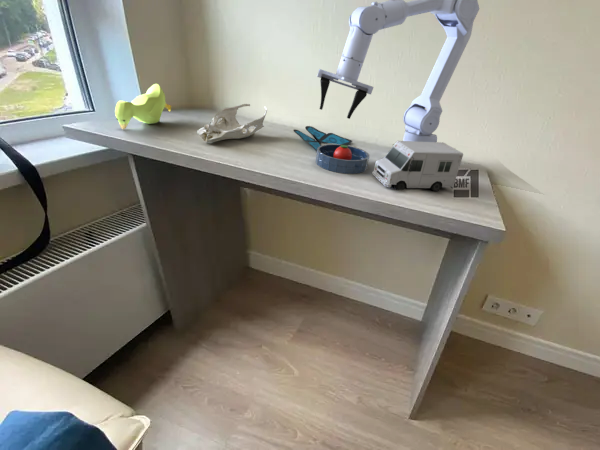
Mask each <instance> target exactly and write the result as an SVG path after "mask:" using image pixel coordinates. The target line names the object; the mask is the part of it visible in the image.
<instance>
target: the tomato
mask: <svg viewBox="0 0 600 450" xmlns="http://www.w3.org/2000/svg"><path fill="white" fill-rule="evenodd" d="M348 146H349V145H341V146H340V147H338V148H337V149H336V150H335V152H334V158H337V159H343V160H351V158H352V153H351V150H350V149H349V148H348Z"/></svg>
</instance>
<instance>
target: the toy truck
mask: <svg viewBox="0 0 600 450" xmlns="http://www.w3.org/2000/svg"><path fill="white" fill-rule="evenodd" d="M463 157H464V152H462V151H460V150H458V149H456V148H454V147H452V146H450V145H449V144H447V143H445V142H444V141H443V142H441V141H440V142H439V141H437V142H416V141H403V140H397V141H395V143H393V145H392V147H391V148H390V150H389V151H388V152H387V153H386V155H385V156H384V157H382V158H379V159H377V160H375V164H374V168H373V170H372V173H371V174H372V175H373V176H374V177H375V178H376V179H377V180H378V181H379V182H380V183H381V184H382V185H383V186H384V187H386V188H391V187H392V185H394V186H393V188H394V189H395V190H397V191H403V190H404V189H405V188H406V189H430V190H431V191H432V192H438V191H439V190H441V188H450V189H454V186H455V183H456V180H457V177H458V174H459V170H460V167H461V163H462V161H463Z"/></svg>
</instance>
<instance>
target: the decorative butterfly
mask: <svg viewBox="0 0 600 450" xmlns="http://www.w3.org/2000/svg"><path fill="white" fill-rule="evenodd" d="M305 130H306V131H307V132H308V133H309V134H310V135H311V136H312V137H311V136H309V135H308V134H306V133H305V132H303V131H300V130H298V129H295V128H294V129H293V133H294V134H296V135H297V136H298V137H299V138H301V140H302V141H304V142H307V144H308V145H310V146H311V147H312V148H313V149H314V150H315V151H316V152H317V148H318V147H319V146H322V145H323V144H325V145H327V144H340V145H347V146H350V145H351V144H352V143H353V140H352V139H349V138H346V137H342V136H341V135H338V134H335V133H333V132H327V133H326V132H323V131H321V130H319V129H317V128H316V127H314V126H311V125H307V126H305Z"/></svg>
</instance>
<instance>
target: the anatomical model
mask: <svg viewBox="0 0 600 450" xmlns="http://www.w3.org/2000/svg"><path fill="white" fill-rule="evenodd" d="M244 107H251V104H250V103H243V104H239V105H235V106H230V107H229V106H228V107H224V108H222V109H221V110H219V111H218V112H217V113H216V114H215V115H214V116H213V117H212V119H211V121H209V123H206V124H204V126H203V127H201V128H199V129H197V130H196V133H197V135H198V136H199V137H200V138H201V139H202V141H204V142H205V143H210V144H211V143H215V142H219V141H224V140H228V139H246V138H248V137H250V136H251V135H253V134H255V133H256V132H258V131H260V130H261V129H262V128H264V127H265V125H264V121H265V118H266V115H267V112H268V108H267V106H264V107H263V108H264V110H265V111H264V113H263V115H262V116H261V117H259V118H257V119H255V120H252V121H250V122H249V123H245V124H243V125H242V124H240V123H239V122H238V121H239V120H238V119H237V117H236V116H237V113H238V110H239V109H240V108H244ZM251 127H253V128H251Z"/></svg>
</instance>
